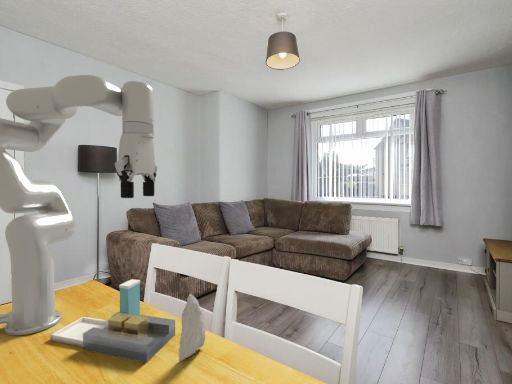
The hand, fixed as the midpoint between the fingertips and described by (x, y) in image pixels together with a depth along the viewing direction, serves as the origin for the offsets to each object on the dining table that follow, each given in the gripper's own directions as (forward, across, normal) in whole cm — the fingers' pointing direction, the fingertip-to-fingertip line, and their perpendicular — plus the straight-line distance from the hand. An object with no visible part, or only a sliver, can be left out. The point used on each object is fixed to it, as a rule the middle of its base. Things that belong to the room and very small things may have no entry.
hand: (138, 196), depth 73 cm
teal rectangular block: (+37, -8, -8) cm, 39 cm away
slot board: (+37, +3, 0) cm, 37 cm away
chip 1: (+35, +3, -4) cm, 35 cm away
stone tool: (+37, +6, +17) cm, 42 cm away
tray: (+37, +2, -15) cm, 40 cm away
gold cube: (+35, +3, +1) cm, 35 cm away
